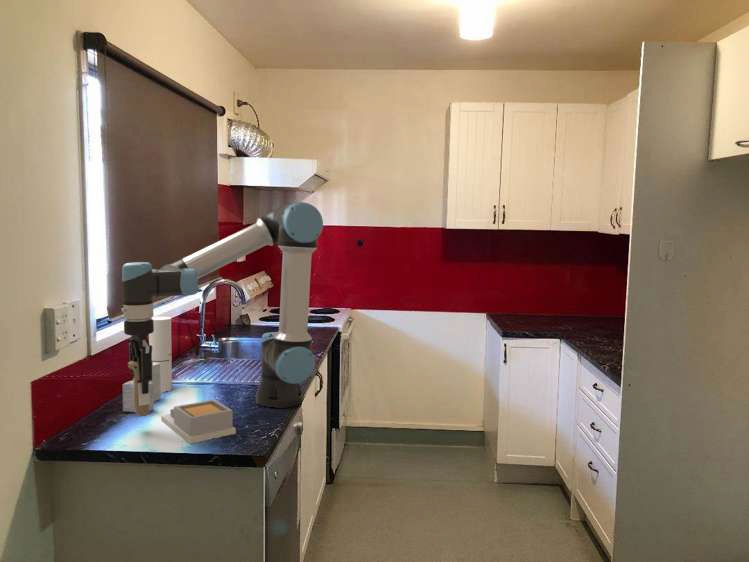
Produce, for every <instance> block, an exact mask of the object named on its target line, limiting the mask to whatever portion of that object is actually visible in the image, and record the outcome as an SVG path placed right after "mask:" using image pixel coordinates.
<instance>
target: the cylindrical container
mask: <svg viewBox="0 0 749 562" xmlns="http://www.w3.org/2000/svg"><path fill="white" fill-rule="evenodd" d="M151 319H153V321H154V331H153V333H151V334H148V340H149V346H150V345H152V361H153V363H160V382H161V392H164V393H167V392H166V391H168V392H171V391H172V390H171V389H172V388H173V382H172V378H173V376H172V375H173V373H172V370H173V369H172V368H173V366H172V365H173V364H172V362H173V361H172V357H173V356H172V317H170V316H153V317H152V318H151ZM170 390H171V391H170Z"/></svg>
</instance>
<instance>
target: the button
mask: <svg viewBox="0 0 749 562" xmlns="http://www.w3.org/2000/svg"><path fill="white" fill-rule="evenodd" d="M184 411H185V412H187V413H188V414H189V415H191V416H192V417H193V416H198V415H204V414H209V413H214V412H219V411H221V410H220V409H218V408H216V407H215V406H213V405H212V404H208V405H203V406H197V407H192V408H186V409H184Z"/></svg>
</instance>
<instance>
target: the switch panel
mask: <svg viewBox="0 0 749 562" xmlns="http://www.w3.org/2000/svg"><path fill="white" fill-rule="evenodd" d="M208 404H212V405H213V406H215V407H216V408H218V409H220V410H221V411H219V412H214V413H209V414H204V415H198V416H193V417H192V416H191V415H189V414H188V413H187V412H185V411H184V409H186V408H192V407H197V406H203V405H208ZM233 411H234V410H233V409H231V408H229V407H228V406H227V405H225V404H223V403H221V402H219V401H218V400H216V399H209V400H204V401H198V402H194V403H193V402H191V403H187V404H186V403H185V404H181V405H177V406H176V405H175V406H173V408H171V409H170V411H169V412H170V413H168V414H163V415H160V420H161V422H162V423H163V424H164V425H166V426H168V428H169V429H171V430H172V431H174V433H176V434H177V435H179V436H180V437H181V438H182V439H183V440H185V441H186V442H187V443H188V444H190V445H191V444H195V443H200V442H204V441H210V440H213V438H214V439H218V438H222V436H223V437H225V436H226V437H227V436H232V435H236V434H237V433H236V432H237V429H236V427H235V426H233V415H234V414H233Z"/></svg>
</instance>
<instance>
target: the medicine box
mask: <svg viewBox="0 0 749 562" xmlns="http://www.w3.org/2000/svg"><path fill="white" fill-rule="evenodd" d="M149 388H150V404H149V409H148V410H149V412H151V411H153V410H154V409H155V408H154V407H155V404H154V402H155V401H153V383H152V382H149ZM122 412H130V413H136V409H135V404H134V392H133V380H129V381H127V382H124V383H123V384H122Z"/></svg>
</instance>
